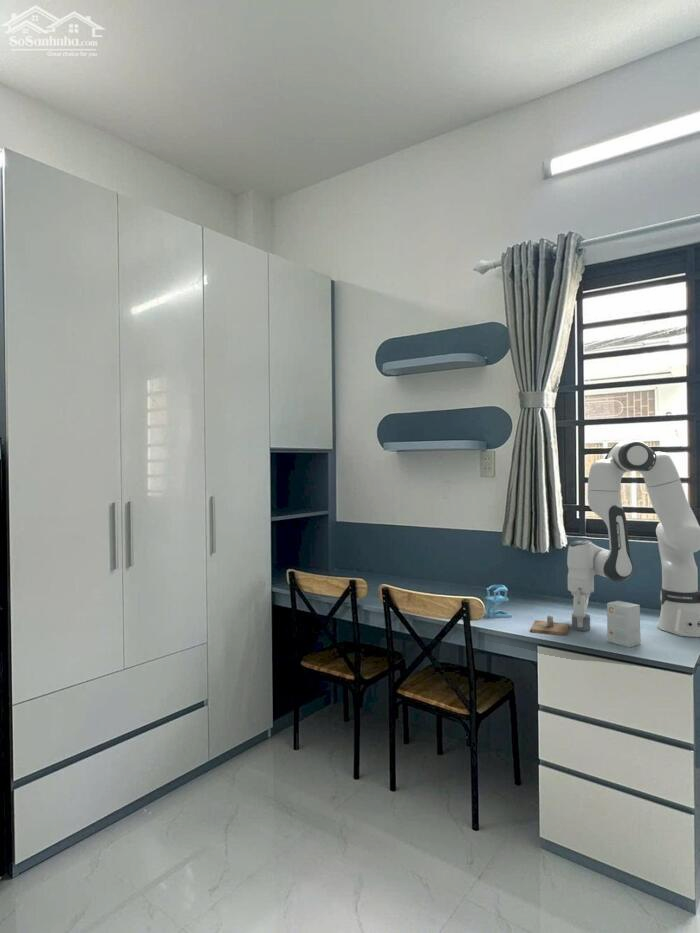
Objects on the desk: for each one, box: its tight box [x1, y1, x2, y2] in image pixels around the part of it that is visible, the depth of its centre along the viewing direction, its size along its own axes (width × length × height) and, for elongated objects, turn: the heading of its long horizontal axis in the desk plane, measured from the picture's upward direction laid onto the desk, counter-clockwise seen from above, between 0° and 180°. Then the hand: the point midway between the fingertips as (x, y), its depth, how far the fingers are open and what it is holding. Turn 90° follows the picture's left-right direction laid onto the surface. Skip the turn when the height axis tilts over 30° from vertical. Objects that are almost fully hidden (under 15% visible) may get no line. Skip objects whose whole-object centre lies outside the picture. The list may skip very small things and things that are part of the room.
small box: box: [606, 600, 641, 648], centre depth 195 cm, size 8×6×13 cm
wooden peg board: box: [530, 615, 571, 637], centre depth 211 cm, size 12×12×4 cm
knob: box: [571, 613, 591, 632], centre depth 212 cm, size 6×6×5 cm
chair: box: [485, 584, 513, 619], centre depth 230 cm, size 8×8×12 cm
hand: (581, 623), depth 212 cm, fingers closed on knob, 6 cm apart
